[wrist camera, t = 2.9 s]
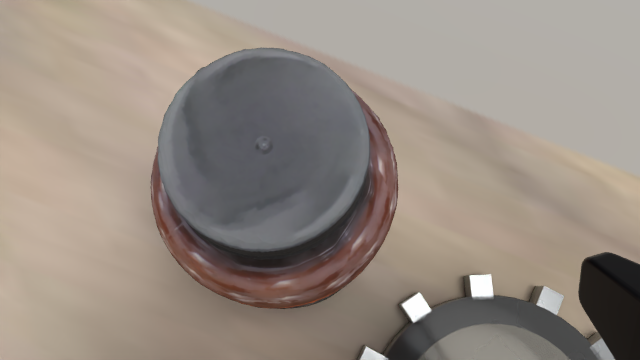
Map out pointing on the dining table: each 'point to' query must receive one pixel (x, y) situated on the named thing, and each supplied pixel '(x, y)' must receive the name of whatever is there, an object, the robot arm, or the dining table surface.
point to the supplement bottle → (272, 179)
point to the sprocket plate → (489, 329)
